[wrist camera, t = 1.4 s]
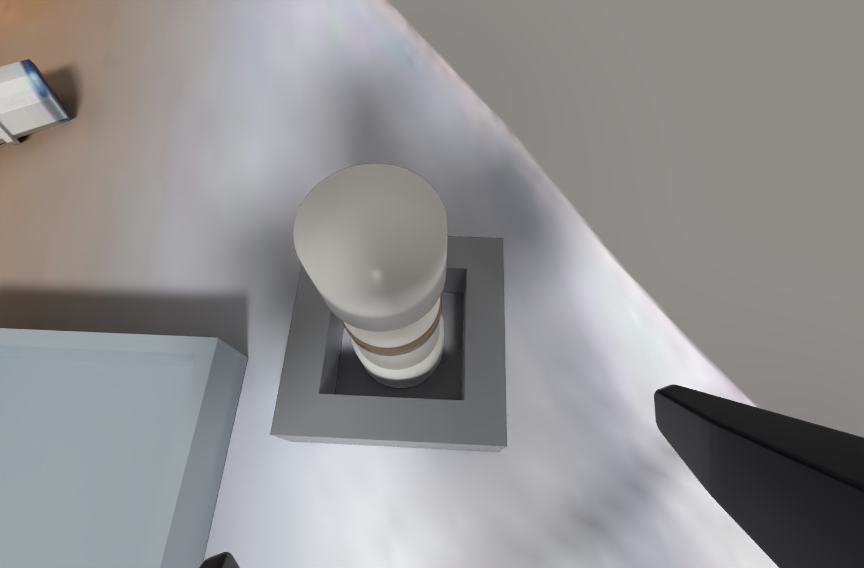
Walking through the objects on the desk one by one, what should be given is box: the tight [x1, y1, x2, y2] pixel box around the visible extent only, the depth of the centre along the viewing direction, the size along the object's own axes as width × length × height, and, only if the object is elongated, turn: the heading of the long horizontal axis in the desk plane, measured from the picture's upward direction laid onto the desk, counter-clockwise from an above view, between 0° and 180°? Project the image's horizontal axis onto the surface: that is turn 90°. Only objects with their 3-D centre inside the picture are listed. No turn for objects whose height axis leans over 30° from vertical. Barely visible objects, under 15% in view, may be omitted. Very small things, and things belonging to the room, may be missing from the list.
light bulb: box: [293, 163, 448, 388], centre depth 18 cm, size 4×4×12 cm
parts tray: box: [0, 328, 248, 568], centre depth 19 cm, size 18×14×4 cm
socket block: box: [270, 236, 507, 452], centre depth 22 cm, size 10×10×3 cm
